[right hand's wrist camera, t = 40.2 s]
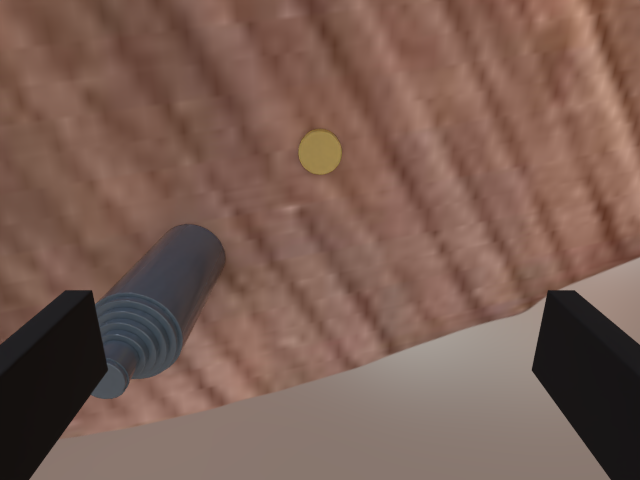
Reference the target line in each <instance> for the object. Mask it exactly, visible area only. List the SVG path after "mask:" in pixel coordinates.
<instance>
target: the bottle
mask: <svg viewBox="0 0 640 480" xmlns="http://www.w3.org/2000/svg"><path fill="white" fill-rule="evenodd" d="M224 264H225V253H224V249H223V246H222V244H221V242H220V241H219V239H218V238H217V237H216V236H215V235H214V234H213V233H212V232H210V231H209V230H207V229H205V228H203V227H201V226H197V225H191V224H186V225H180V226H176V227H174V228H172V229H170V230H169V231H168V232H167V233H166V234H165V235H164V236H163V237H162V238H161V239H160V240H159V241H158V242H157V243H156V244H155V245H154V246H153V247H152V248H151V249H150V250H149V251H148V252H147V253H146V254H145V255H144V256H143V257H142V258H141V259H140V260H139V261H138V262H137V263H136V264H135V265H134V266H133V267H132V268H131V269H130V270H129V271H128V272H127V273H126V274H125V275H124V276H123V277H122V278H121V279H120V280H119V281H118V282H117V283H116V284H115V285H114V286H113V287H112V288H111V289H110V290H109V291H108V292H107V293H106V294H105V295H104V296H103V297H102V298H101V299H100V300H99V301H98V302H97V303H96V304H95V307H96V312H97V317H98V322H99V327H100V332H101V337H102V342H103V347H104V352H105V356H106V361H107V366H108V371H107V373H106V374H105V375H104V377H103V378H102V380H101V381H100V382H99V384H98V385H97V387H96V388H95V389H94V391H93V392H92V393H91V395H92V396H94V397H97V398H101V399H112V398H117V397H118V396H120V395H122V394H123V392H124V391H125V389H126V388H127V387H128V384H129V381H130V379H143V378H149V377H152V376H155V375H157V374H159V373H161V372H162V371H164V370H166V369H167V368H169V367H170V366H171V365H172V364H173V363H174V362H175V361H176V360H177V358H178V357H179V355H180V353H181V351H182V349H183V347H184V345H185V343H186V341H187V339H188V337H189V335H190V333H191V331H192V329H193V327H194V325H195V323H196V321H197V319H198V317H199V316H200V314H201V312H202V310H203V308H204V306H205V304H206V302H207V300H208V298H209V296H210V294H211V292H212V290H213V288H214V286H215V284H216V282H217V280H218V278H219V276H220V274H221V272H222V270H223V268H224Z"/></svg>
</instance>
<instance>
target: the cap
mask: <svg viewBox="0 0 640 480" xmlns="http://www.w3.org/2000/svg"><path fill="white" fill-rule="evenodd" d="M298 154H299V160H300V162H301V164H302V166H303V167H304V168H305V169H306V170H307V171H309V172H311V173H313V174H317V175H323V174H327V173H329V172H331V171H333V170H334V169H335V168H336V167H337V166H338V164H339V163H340V160H341V157H342V149H341V145H340V142H339V140H338V138H337V137H336V136H335V135H334V134H333V133H332V132H330V131H328V130H325V129H315V130H312V131H310V132H308V133H307V134H306V135H305V136H304V137H303V139H302V140H301V143H300V146H299V151H298Z"/></svg>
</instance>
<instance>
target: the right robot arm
mask: <svg viewBox="0 0 640 480" xmlns="http://www.w3.org/2000/svg"><path fill="white" fill-rule="evenodd" d="M107 371H108V366H107V361H106V356H105V352H104V347H103V342H102V337H101V332H100V327H99V322H98V317H97V312H96V307H95V302H94V298H93V293H92V290H65V291H64V292H63V293H62V294H61V295H59V296H58V297H57V298H56V299H55V300H53V301H52V302H51V303H50V304H49V305H47V306H46V307H45V308H44V309H43V310H41V311H40V312H39V313H38V314H37V315H36V316H34V317H33V318H32V319H31V320H30V321H28V322H27V323H26V324H25V325H24V326H22V327H21V328H20V329H19V330H18V331H16V332H15V333H14V334H13V335H12V336H10V337H9V338H8V339H7V340H6V341H4V342H3V343H2V344H1V345H0V480H29V479H30V478H31V476H32V475H33V474H34V472H35V471H36V469H37V468H38V467H39V465H40V464H41V462H42V461H43V460H44V458H45V457H46V455H47V454H48V453H49V451H50V450H51V449H52V447H53V446H54V445H55V443H56V442H57V440H58V439H59V438H60V436H61V435H62V433H63V432H64V431H65V429H66V428H67V427H68V425H69V424H70V422H71V421H72V420H73V418H74V417H75V416H76V414H77V413H78V411H79V410H80V409H81V407H82V406H83V404H84V403H85V402H86V400H87V399H88V398H89V396H90V395H91V393H92V392H93V391H94V389H95V388H96V387H97V385H98V384H99V382H100V381H101V380H102V378H103V377H104V375H105V374H106V373H107ZM532 371H533V373H534V374H535V375H536V377H537V378H538V380H539V381H540V382H541V384H542V385H543V386H544V388H545V389H546V391H547V392H548V393H549V395H550V396H551V398H552V399H553V400H554V402H555V403H556V404H557V406H558V407H559V409H560V410H561V411H562V413H563V414H564V415H565V417H566V418H567V420H568V421H569V422H570V424H571V425H572V427H573V428H574V429H575V431H576V432H577V433H578V435H579V436H580V438H581V439H582V440H583V442H584V443H585V444H586V446H587V447H588V449H589V450H590V451H591V453H592V454H593V456H594V457H595V458H596V460H597V461H598V462H599V464H600V465H601V466H602V468H603V469H604V471H605V472H606V474H607V475H608V476H609V478H610V479H611V480H640V345H639V344H638V343H637V342H636V341H634V340H633V339H632V338H631V337H630V336H628V335H627V334H626V333H625V332H624V331H622V330H621V329H620V328H619V327H618V326H616V325H615V324H614V323H613V322H612V321H610V320H609V319H608V318H607V317H606V316H604V315H603V314H602V313H601V312H600V311H599V310H597V309H596V308H595V307H594V306H593V305H591V304H590V303H589V302H588V301H587V300H585V299H584V298H583V297H582V296H581V295H579V294H578V293H577V292H576V291H574V290H548V293H547V298H546V302H545V308H544V312H543V317H542V322H541V327H540V332H539V337H538V342H537V347H536V352H535V356H534V362H533V367H532Z"/></svg>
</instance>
